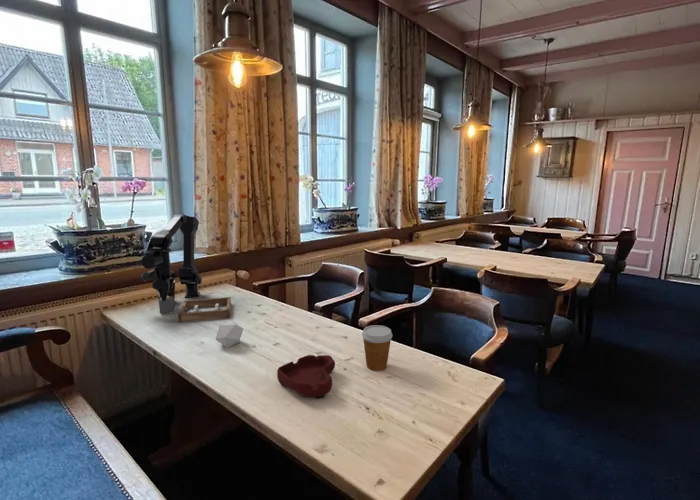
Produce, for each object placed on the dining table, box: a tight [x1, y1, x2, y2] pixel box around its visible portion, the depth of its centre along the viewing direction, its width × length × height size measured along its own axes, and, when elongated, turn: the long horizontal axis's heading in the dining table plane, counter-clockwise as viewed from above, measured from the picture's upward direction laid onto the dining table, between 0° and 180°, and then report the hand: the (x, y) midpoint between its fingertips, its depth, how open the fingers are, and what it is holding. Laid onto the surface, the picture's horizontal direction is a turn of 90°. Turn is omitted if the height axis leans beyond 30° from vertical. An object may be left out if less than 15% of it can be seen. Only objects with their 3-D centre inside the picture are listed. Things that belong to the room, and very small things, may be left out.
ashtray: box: [276, 354, 336, 399], centre depth 109 cm, size 18×16×5 cm
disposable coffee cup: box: [361, 324, 393, 372], centre depth 118 cm, size 10×10×12 cm
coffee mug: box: [155, 279, 176, 301], centre depth 177 cm, size 12×9×10 cm
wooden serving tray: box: [177, 296, 232, 323], centre depth 166 cm, size 18×20×4 cm
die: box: [215, 319, 244, 349], centre depth 134 cm, size 8×9×10 cm
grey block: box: [158, 296, 175, 314], centre depth 168 cm, size 5×5×7 cm
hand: (166, 297), depth 167 cm, fingers open, 9 cm apart
